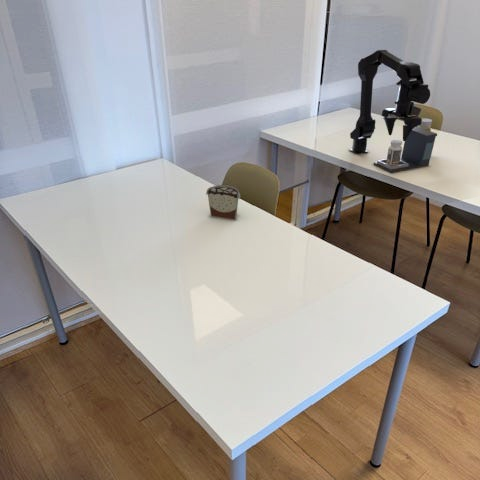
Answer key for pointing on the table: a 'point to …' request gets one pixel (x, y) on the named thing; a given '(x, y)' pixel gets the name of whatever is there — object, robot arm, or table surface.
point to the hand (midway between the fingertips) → (397, 138)
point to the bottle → (425, 124)
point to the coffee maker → (413, 151)
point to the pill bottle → (394, 153)
